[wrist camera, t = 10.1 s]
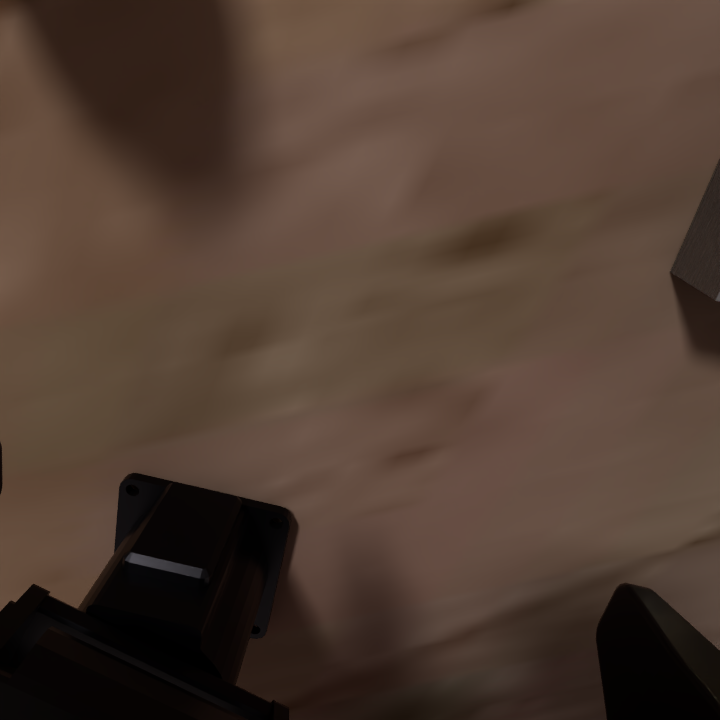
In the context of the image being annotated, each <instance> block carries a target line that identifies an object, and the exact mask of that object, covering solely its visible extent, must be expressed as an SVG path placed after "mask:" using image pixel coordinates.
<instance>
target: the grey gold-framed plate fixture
mask: <svg viewBox="0 0 720 720" xmlns="http://www.w3.org/2000/svg"><path fill="white" fill-rule="evenodd" d="M670 272H671V273H672V274H674V275H676V276H677V277H679V278H680V279H682V280H684V281H685V282H687V283H688V284H690V285H691V286H693V287H695V288H696V289H698V290H699V291H701V292H703V293H704V294H706V295H707V296H709V297H710V298H712V299H714V300H715V301H719V302H720V160H719V162H718V164H717V166H716V169H715V171H714V173H713V175H712V178H711V180H710V182H709V185H708V187H707V189H706V191H705V194H704V196H703V198H702V201H701V203H700V205H699V207H698V210H697V212H696V214H695V217H694V219H693V221H692V223H691V226H690V228H689V230H688V233H687V235H686V237H685V239H684V242H683V244H682V246H681V249H680V251H679V253H678V255H677V258H676V260H675V262H674V265H673V267H672V269H671V271H670Z"/></svg>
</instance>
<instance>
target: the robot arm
mask: <svg viewBox="0 0 720 720" xmlns="http://www.w3.org/2000/svg"><path fill="white" fill-rule="evenodd" d="M131 485H135V486H137V488H138V489H139V490H136V489H134V488H132V486H131ZM1 490H2V446H1V443H0V494H1ZM273 518H278V519H280V520H281V521H282V522H275V521H274V520H273ZM290 523H291V515H290V513H289V511H288V510H287V509H285V508H283V507H281V506H276V505H272V504H268V503H263V502H259V501H255V500H250V499H246V498H242V497H238V496H234V495H230V494H225V493H221V492H217V491H212V490H208V489H204V488H199V487H195V486H191V485H186V484H182V483H178V482H173V481H169V480H164V479H160V478H156V477H151V476H147V475H143V474H138V473H132V474H128V475H127V476H126V477H125V478H124V480H123V481H122V482H121V484H120V487H119V498H118V511H117V524H116V537H115V550H114V555H113V556H112V558H111V559H110V561H109V562H108V564H107V565H106V567H105V568H104V570H103V571H102V573H101V574H100V576H99V577H98V579H97V580H96V582H95V583H94V585H93V586H92V588H91V589H90V591H89V592H88V594H87V595H86V597H85V598H84V600H83V601H82V603H81V604H80V606H79V607H78V609H76V608H74V607H72V606H70V605H68V604H66V603H64V602H62V601H60V600H58V599H56V598H54V597H52V596H50V595H49V593H50V591H48V590H46V589H43V588H41V587H39V586H37V585H35V584H33V585H32V586H31V587H30V588H29V589H28V590H27V591H26V592H25V593H24V594H23V595H22V596H21V597H20V598H19V599H18V601H17V602H16V603H15V602H13V601H10V602H9V603H8V604H7V605H6V606H5V607H4V608H3V609H2V610H1V611H0V720H289V707H287V706H285V705H282V704H280V703H278V702H276V701H274V700H273V701H272V702H268V701H266V700H264V699H262V698H260V697H258V696H256V695H254V694H252V693H250V692H248V691H246V690H244V689H242V688H240V687H238V686H235V684H236V681H237V678H238V674H239V671H240V668H241V665H242V661H243V658H244V655H245V651H246V648H247V645H248V641H249V638H255V639H258V638H262V637H263V636H264V635H265V633H266V631H267V627H268V623H269V619H270V614H271V610H272V605H273V601H274V596H275V591H276V587H277V582H278V578H279V573H280V569H281V564H282V559H283V555H284V550H285V546H286V541H287V537H288V532H289V527H290ZM253 625H256V626H258V627H256V626H253ZM596 643H597V650H598V657H599V665H600V672H601V679H602V686H603V694H604V701H605V708H606V715H607V720H720V651H719V650H718V649H717V648H716V647H715V646H714V645H713V644H712V643H711V642H710V641H708V640H707V639H706V638H705V637H704V636H703V635H702V634H701V633H700V632H698V631H697V630H696V629H695V628H694V627H693V626H692V625H691V624H690V623H689V622H687V621H686V620H685V619H684V618H683V617H682V616H681V615H680V614H679V613H677V612H676V611H675V610H674V609H673V608H672V607H671V606H670V605H669V604H668V603H666V602H665V601H664V600H663V599H662V598H661V597H660V596H659V595H658V594H657V593H655V592H654V591H653V590H651V589H649V588H646V587H642V586H638V585H633V584H629V583H623V584H620V585H619V586H618V587H617V588H616V590H615V591H614V593H613V595H612V597H611V599H610V601H609V603H608V605H607V607H606V609H605V611H604V613H603V615H602V617H601V619H600V621H599V623H598V626H597V632H596Z"/></svg>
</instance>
